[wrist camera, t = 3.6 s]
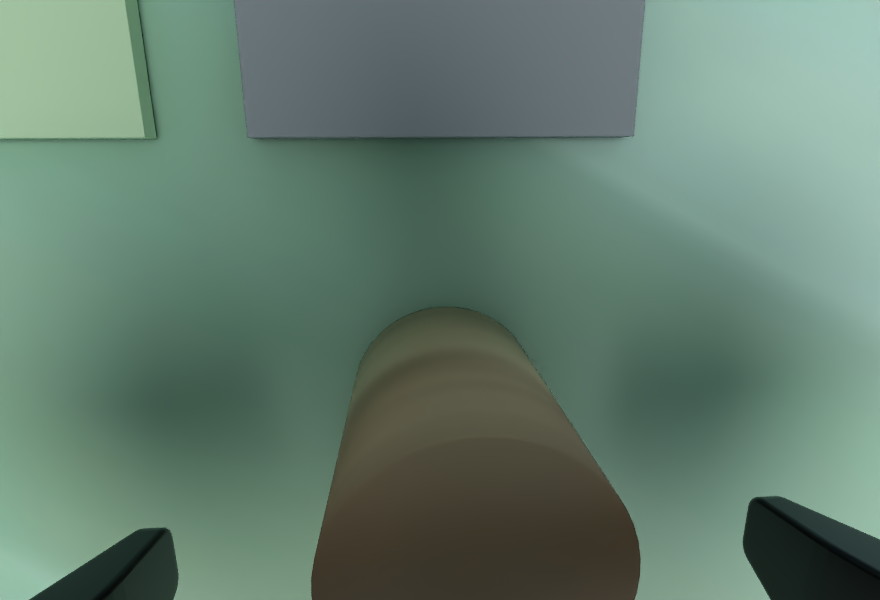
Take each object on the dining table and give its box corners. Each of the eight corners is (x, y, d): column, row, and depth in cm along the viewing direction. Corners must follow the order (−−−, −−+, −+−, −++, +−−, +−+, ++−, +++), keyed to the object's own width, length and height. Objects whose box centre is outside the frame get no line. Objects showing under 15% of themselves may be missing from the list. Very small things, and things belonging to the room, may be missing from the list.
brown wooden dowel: (529, 467, 13) (626, 700, 7) (358, 474, 13) (322, 722, 7) (535, 304, 12) (656, 429, 6) (350, 308, 12) (298, 444, 6)
